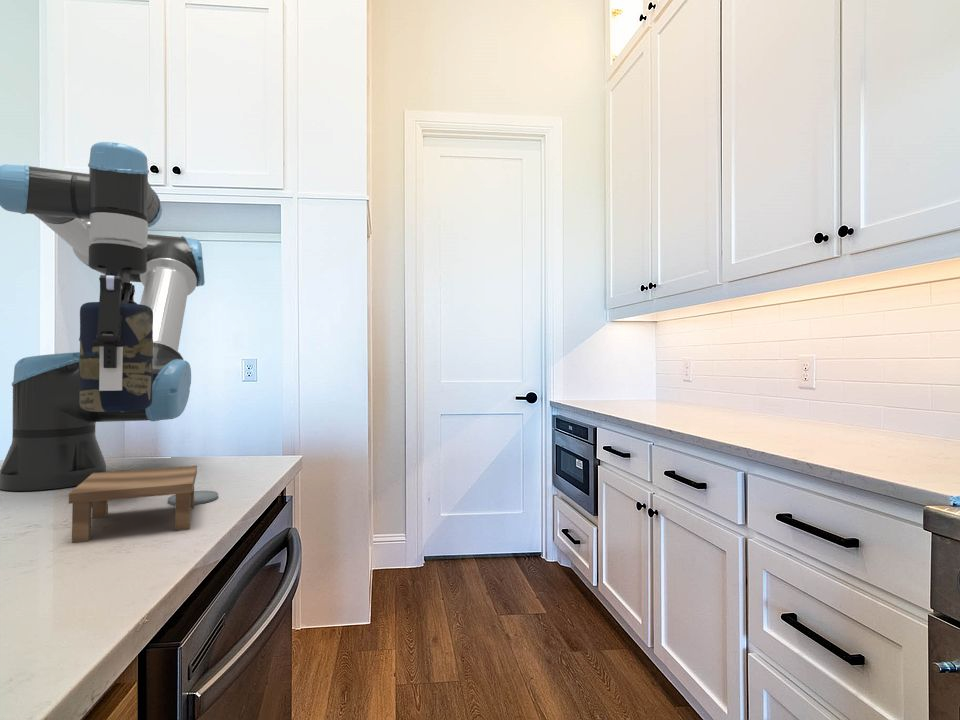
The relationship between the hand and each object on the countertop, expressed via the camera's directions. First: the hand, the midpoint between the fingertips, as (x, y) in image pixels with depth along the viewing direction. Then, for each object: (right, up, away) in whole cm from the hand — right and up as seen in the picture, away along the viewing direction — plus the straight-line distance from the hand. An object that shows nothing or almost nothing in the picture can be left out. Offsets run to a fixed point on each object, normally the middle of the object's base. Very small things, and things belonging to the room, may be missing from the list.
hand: (117, 388), depth 82 cm
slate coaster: (+12, -18, +1) cm, 21 cm away
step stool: (+11, -18, -11) cm, 23 cm away
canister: (0, -4, 0) cm, 4 cm away
